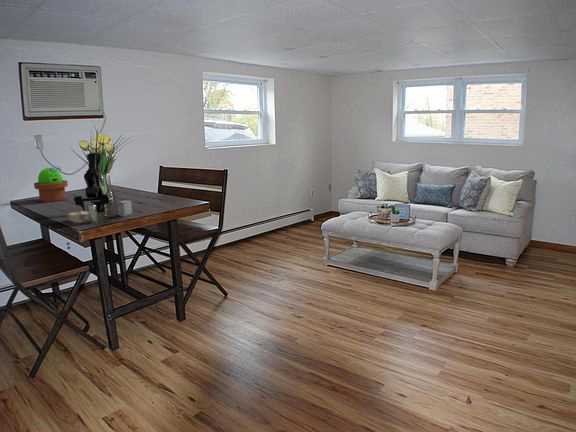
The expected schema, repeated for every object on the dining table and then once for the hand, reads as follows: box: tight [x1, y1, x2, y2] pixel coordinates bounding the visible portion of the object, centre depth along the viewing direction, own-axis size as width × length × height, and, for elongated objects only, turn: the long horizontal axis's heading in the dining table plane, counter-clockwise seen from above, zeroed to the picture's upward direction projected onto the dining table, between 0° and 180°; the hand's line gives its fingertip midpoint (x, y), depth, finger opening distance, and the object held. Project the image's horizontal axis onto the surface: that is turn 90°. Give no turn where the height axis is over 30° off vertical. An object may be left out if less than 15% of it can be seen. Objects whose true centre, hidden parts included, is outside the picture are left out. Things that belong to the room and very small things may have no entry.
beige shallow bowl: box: [66, 210, 89, 224], centre depth 264 cm, size 11×11×4 cm
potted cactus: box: [33, 167, 69, 203], centre depth 329 cm, size 22×22×25 cm
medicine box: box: [117, 199, 133, 217], centre depth 274 cm, size 8×4×9 cm, turn 163°
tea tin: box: [86, 204, 99, 224], centre depth 257 cm, size 5×5×10 cm
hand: (92, 211), depth 256 cm, fingers open, 8 cm apart
